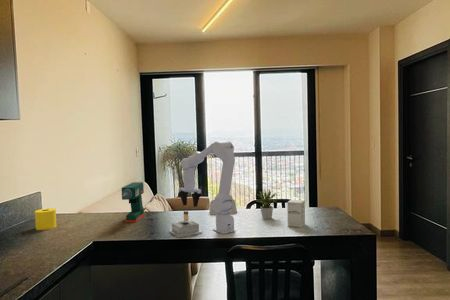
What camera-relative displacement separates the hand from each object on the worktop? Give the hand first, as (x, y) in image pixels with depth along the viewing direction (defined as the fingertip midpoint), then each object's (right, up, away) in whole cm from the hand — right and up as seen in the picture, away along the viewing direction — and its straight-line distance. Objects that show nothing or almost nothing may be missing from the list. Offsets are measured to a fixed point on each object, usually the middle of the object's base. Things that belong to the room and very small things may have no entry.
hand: (190, 205), depth 186 cm
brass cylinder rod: (-2, -10, -4) cm, 11 cm away
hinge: (+18, -9, +26) cm, 33 cm away
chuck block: (-1, -11, -15) cm, 19 cm away
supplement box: (+55, -9, -8) cm, 56 cm away
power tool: (-34, -11, +12) cm, 37 cm away
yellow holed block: (-79, -13, +3) cm, 80 cm away
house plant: (+43, -9, +7) cm, 44 cm away
